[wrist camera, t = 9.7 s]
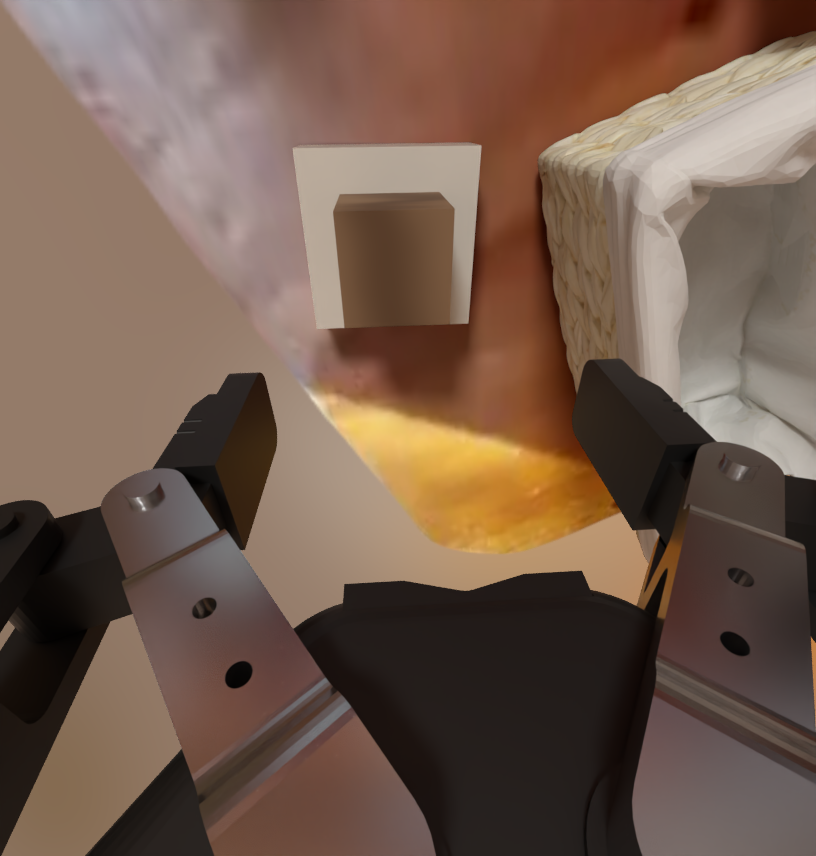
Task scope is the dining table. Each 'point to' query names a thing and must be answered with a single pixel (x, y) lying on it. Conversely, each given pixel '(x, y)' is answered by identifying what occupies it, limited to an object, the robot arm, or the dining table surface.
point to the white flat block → (384, 173)
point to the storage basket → (700, 249)
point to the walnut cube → (394, 258)
